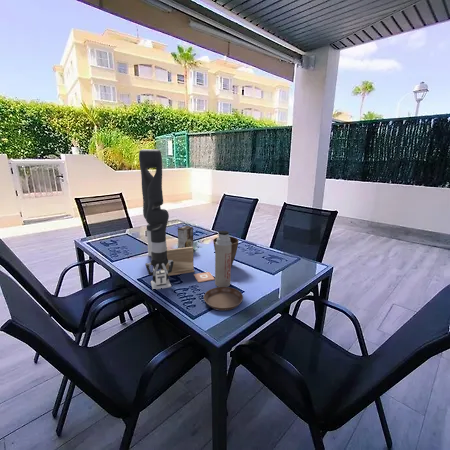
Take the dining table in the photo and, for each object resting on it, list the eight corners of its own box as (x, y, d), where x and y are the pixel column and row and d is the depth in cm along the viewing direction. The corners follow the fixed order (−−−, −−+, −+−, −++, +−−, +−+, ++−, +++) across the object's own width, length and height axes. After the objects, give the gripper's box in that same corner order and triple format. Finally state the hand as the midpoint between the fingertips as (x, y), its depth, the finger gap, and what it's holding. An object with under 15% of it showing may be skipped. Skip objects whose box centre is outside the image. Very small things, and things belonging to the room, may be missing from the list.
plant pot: (229, 272, 147) (230, 246, 142) (208, 266, 154) (208, 241, 150) (242, 264, 159) (243, 239, 155) (221, 258, 166) (221, 234, 162)
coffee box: (186, 247, 186) (186, 225, 182) (193, 248, 183) (193, 226, 179) (177, 250, 179) (177, 228, 175) (184, 252, 176) (184, 229, 171)
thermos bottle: (233, 284, 133) (235, 232, 126) (220, 288, 129) (221, 235, 121) (224, 278, 139) (225, 228, 132) (212, 282, 135) (212, 231, 128)
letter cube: (155, 280, 133) (154, 271, 132) (164, 278, 135) (164, 269, 133) (156, 285, 128) (155, 275, 127) (166, 283, 130) (166, 274, 129)
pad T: (150, 281, 134) (150, 280, 134) (168, 279, 138) (168, 278, 137) (152, 290, 126) (152, 288, 126) (171, 286, 130) (171, 285, 129)
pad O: (193, 275, 143) (193, 274, 143) (209, 272, 146) (209, 271, 146) (198, 282, 135) (198, 281, 135) (214, 279, 138) (214, 278, 138)
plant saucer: (218, 318, 106) (218, 312, 105) (196, 299, 119) (196, 293, 119) (250, 304, 116) (251, 298, 115) (227, 288, 130) (227, 283, 129)
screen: (160, 272, 145) (159, 249, 141) (192, 268, 151) (191, 245, 148) (162, 276, 140) (160, 252, 137) (194, 271, 147) (194, 248, 143)
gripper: (172, 245, 133) (173, 275, 138) (143, 248, 128) (145, 280, 132) (175, 250, 126) (176, 282, 131) (144, 253, 121) (146, 286, 126)
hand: (160, 280), depth 132 cm, fingers closed on letter cube, 4 cm apart
